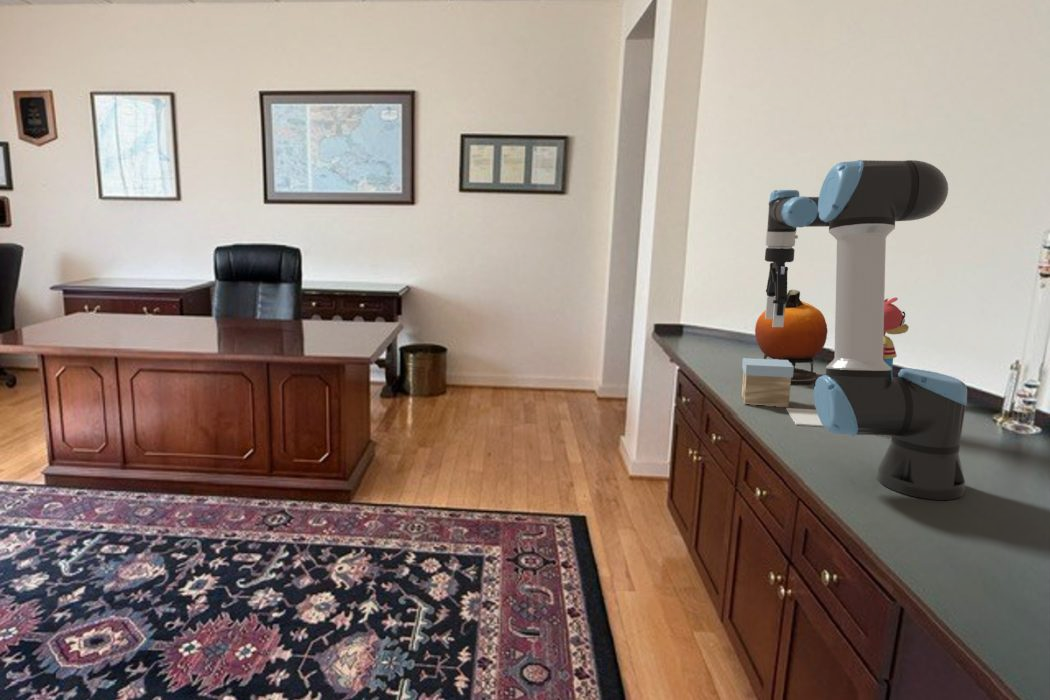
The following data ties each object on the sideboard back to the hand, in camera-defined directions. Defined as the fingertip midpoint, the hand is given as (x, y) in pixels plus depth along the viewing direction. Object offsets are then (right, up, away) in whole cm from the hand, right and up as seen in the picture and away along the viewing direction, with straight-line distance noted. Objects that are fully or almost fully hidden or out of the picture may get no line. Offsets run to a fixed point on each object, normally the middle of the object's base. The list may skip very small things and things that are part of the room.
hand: (773, 322), depth 181 cm
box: (-1, -23, +5) cm, 24 cm away
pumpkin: (+18, -17, +34) cm, 42 cm away
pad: (+8, -26, -10) cm, 29 cm away
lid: (-1, -14, +3) cm, 15 cm away
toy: (+38, -22, +12) cm, 45 cm away
